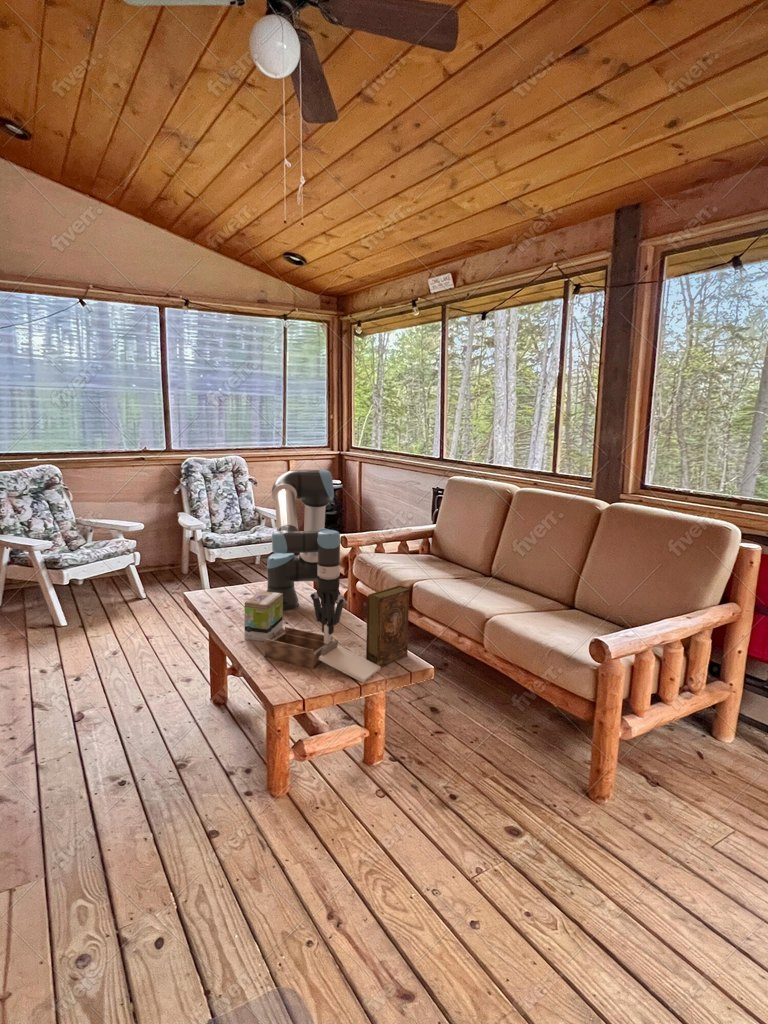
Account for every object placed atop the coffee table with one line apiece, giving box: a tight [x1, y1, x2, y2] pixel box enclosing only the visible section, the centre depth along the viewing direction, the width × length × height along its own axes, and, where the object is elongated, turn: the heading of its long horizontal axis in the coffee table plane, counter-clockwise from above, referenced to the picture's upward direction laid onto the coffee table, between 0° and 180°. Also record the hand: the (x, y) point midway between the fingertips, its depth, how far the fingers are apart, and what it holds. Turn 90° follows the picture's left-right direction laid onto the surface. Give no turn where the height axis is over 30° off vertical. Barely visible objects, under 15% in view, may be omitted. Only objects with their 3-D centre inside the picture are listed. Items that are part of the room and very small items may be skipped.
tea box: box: [243, 590, 284, 642], centre depth 226 cm, size 15×10×15 cm, turn 168°
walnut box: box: [263, 626, 334, 670], centre depth 207 cm, size 20×13×7 cm, turn 65°
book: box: [365, 585, 410, 667], centre depth 205 cm, size 16×6×25 cm, turn 135°
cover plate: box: [319, 639, 382, 684], centre depth 197 cm, size 18×11×4 cm, turn 61°
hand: (327, 642), depth 202 cm, fingers closed
